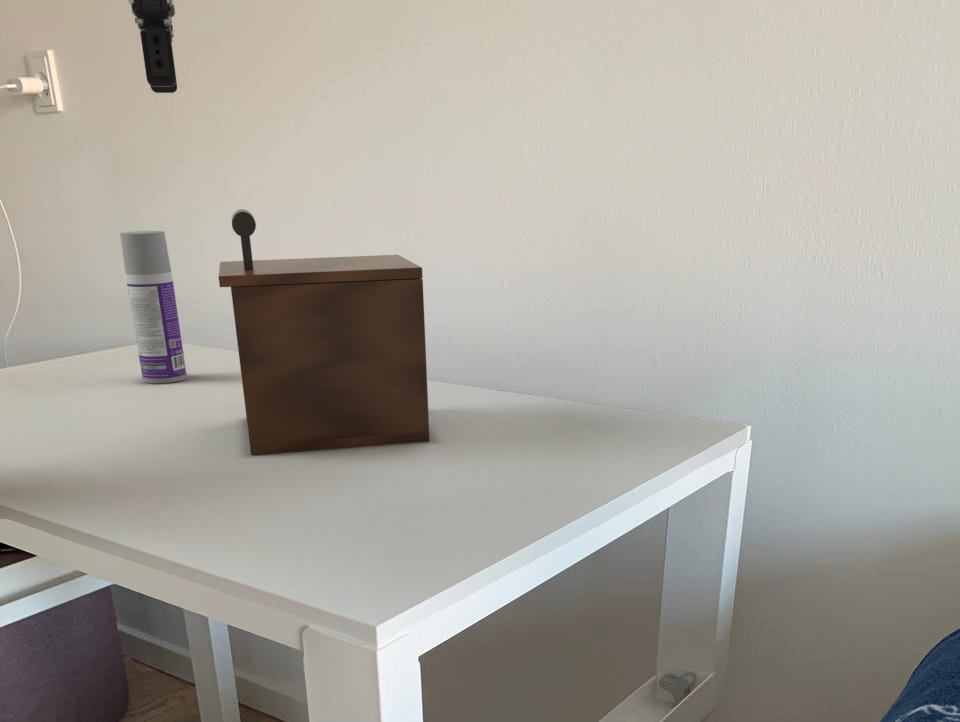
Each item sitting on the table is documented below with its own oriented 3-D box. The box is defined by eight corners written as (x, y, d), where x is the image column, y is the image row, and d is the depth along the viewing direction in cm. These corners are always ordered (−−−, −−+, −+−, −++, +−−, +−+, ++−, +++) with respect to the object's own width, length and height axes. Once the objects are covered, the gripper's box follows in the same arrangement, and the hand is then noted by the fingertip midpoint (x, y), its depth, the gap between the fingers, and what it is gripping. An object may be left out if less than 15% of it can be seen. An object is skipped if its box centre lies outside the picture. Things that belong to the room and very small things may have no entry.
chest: (251, 455, 81) (230, 287, 75) (248, 420, 92) (230, 271, 86) (429, 441, 83) (422, 279, 78) (406, 409, 94) (398, 264, 89)
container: (175, 373, 113) (154, 230, 107) (194, 379, 110) (173, 231, 103) (135, 379, 110) (111, 232, 104) (153, 385, 107) (129, 234, 101)
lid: (219, 287, 75) (210, 214, 73) (221, 271, 86) (213, 208, 84) (422, 278, 78) (419, 208, 76) (398, 264, 89) (395, 202, 87)
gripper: (86, -133, 81) (121, 95, 88) (67, -187, 68) (109, 83, 75) (182, -129, 83) (208, 95, 90) (181, -181, 70) (212, 83, 77)
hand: (163, 89), depth 83 cm, fingers open, 8 cm apart
